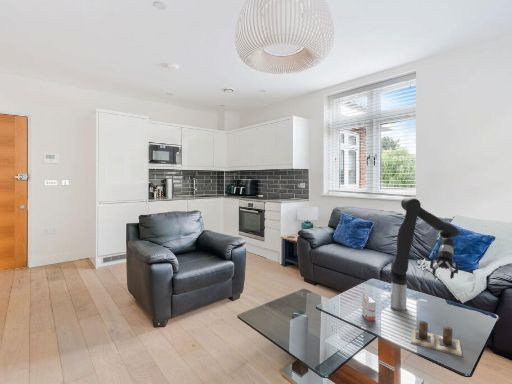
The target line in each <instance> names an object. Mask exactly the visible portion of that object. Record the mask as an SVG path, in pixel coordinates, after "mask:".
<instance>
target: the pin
mask: <svg viewBox="0 0 512 384" xmlns="http://www.w3.org/2000/svg"><path fill="white" fill-rule="evenodd" d="M428 325H429V323H428V322H427V321H424V320H419V321H418V330H419V337H420V338H422V339H427V334H428V333H429V332H428V331H429V329H428Z"/></svg>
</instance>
